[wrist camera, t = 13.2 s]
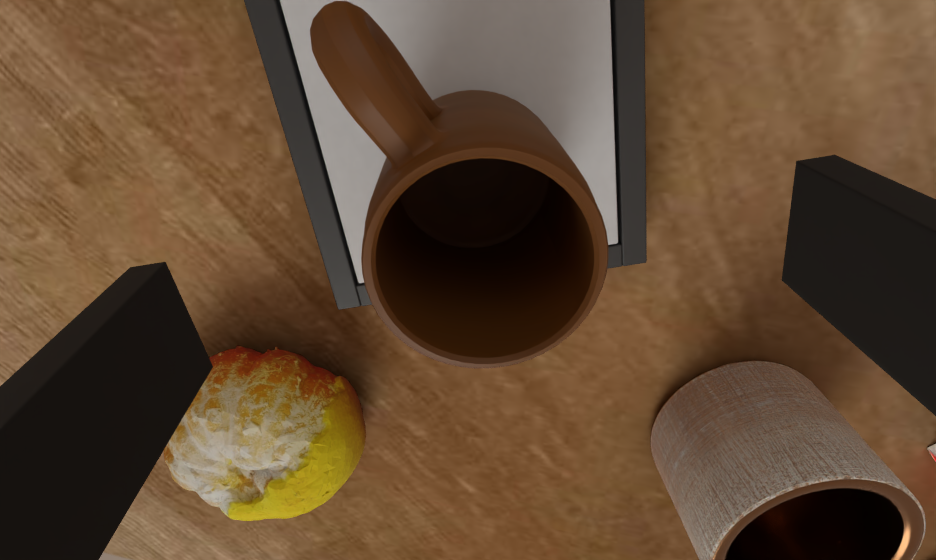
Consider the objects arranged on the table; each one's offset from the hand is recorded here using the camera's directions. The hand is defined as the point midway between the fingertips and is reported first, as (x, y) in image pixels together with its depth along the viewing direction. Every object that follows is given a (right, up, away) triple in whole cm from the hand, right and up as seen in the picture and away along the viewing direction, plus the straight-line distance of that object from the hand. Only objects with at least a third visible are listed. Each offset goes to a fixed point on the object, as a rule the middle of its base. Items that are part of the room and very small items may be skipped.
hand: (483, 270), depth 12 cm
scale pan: (0, +7, +13) cm, 15 cm away
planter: (+17, -9, +25) cm, 31 cm away
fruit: (-12, -8, +23) cm, 27 cm away
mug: (-1, +6, +12) cm, 14 cm away
